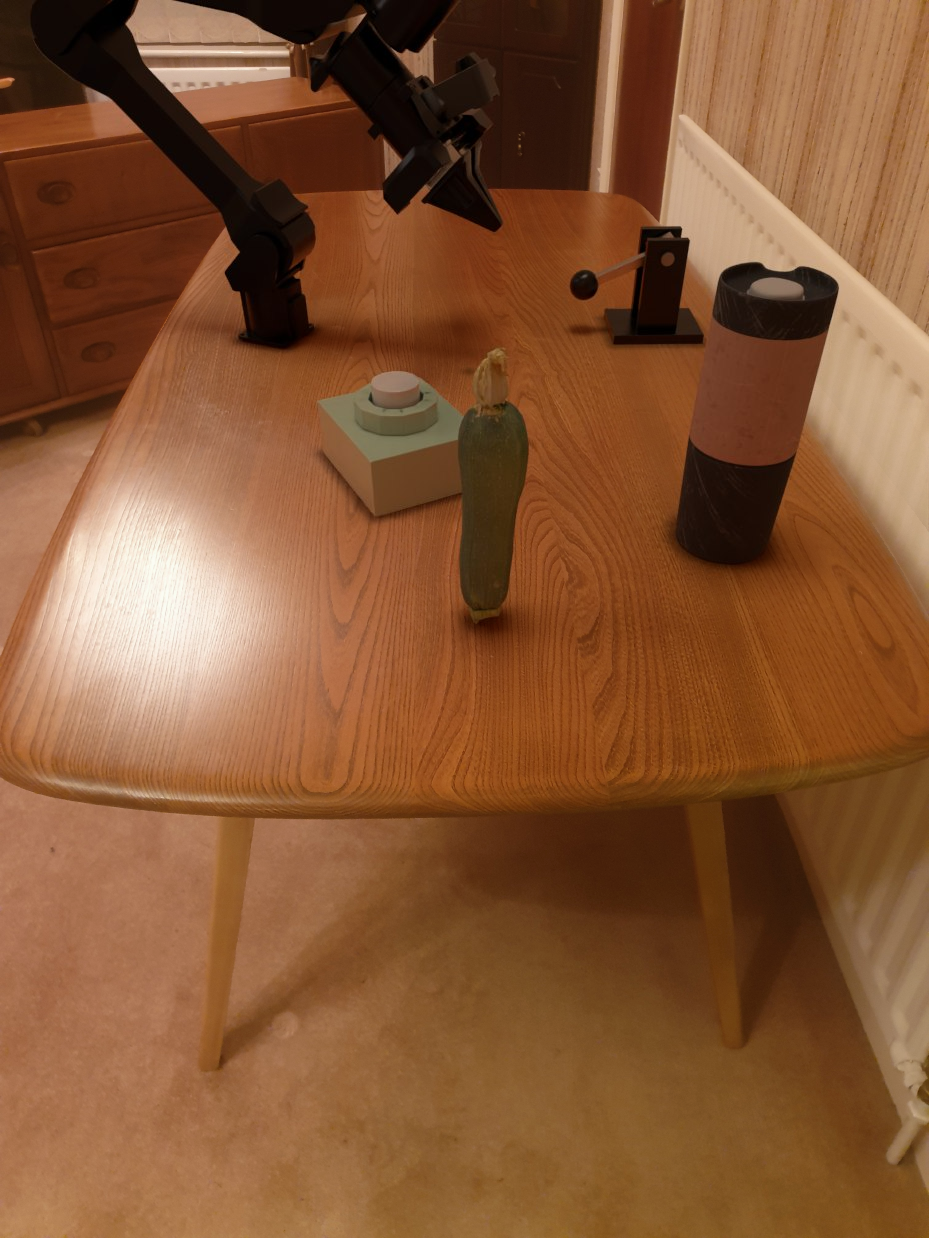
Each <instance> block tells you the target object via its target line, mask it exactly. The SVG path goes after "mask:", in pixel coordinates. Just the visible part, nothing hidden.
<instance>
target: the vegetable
mask: <svg viewBox="0 0 929 1238" xmlns="http://www.w3.org/2000/svg"><path fill="white" fill-rule="evenodd" d="M506 359H508V360H510V359H511V357H509V356H508V353H507V348H506V347H496V348H494V349H493V350H491V351H489V352H487V357H486V358H484V359H482V360H481V363H480V364H479V365H478V367H477V368H476V370H475V371H474V373H473V377H472V383H471V392H472V395H473V398H474V399H475V400H476V403H474V404H473V405H472V406H471V407H470V408H469V409H467V411H466V412H465V414H464V415H463V416H464V417H463V419H462V422H461V425H460V428H459V433H458V461H459V467H460V478H461V485H462V493H461V497H462V498H461V500H462V504H461V508H462V509H461V517H462V518H461V534H460V535H461V536H460V543H459V557H458V558H459V559H458V565H459V566H458V568H459V569H458V570H459V586H460V592H461V595H462V598H463V600H464V602H465V604H466V605H467V606H468V610H469V613H470V616H471V619H472V621H473V623H474V624H478V623H479V621H481V620H484V619H486V618H487V619H488V618H495V617H496V618H497V617H500V613H501V609H502V607H501V606H502V604H503V603H504V602H505V601H506V599H507V597H508V594H509V587H510V579H511V571H512V563H513V557H514V544H515V543H514V541H515V539H514V537H515V531H516V521H517V513H518V509H519V503H520V499H521V497H522V494H523V491H524V487H525V483H526V476H527V471H528V463H529V455H530V441H529V436H528V430H527V426H526V422H525V419H524V416H523V414H522V412H521V411H520V410H519V409H518V407H516V406H515V405H514V404H513V403H511V402H510V401H508V400H507V399H508V398H509V392H510V389H509V388H510V387H509V382H508V377H510V375H509V373H508V371H507V369H508V368H507V367H508V366H507V365H508V361H507V360H506Z"/></svg>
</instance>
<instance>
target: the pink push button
mask: <svg viewBox="0 0 929 1238" xmlns="http://www.w3.org/2000/svg"><path fill="white" fill-rule="evenodd" d="M370 383H371V391H372V402H373V404H374V406H377V407H381V408H384V409H403V408H407V407H412V406H415V405H416V404H418V403H419V402H420V382H419V377H418V376H417V375H416V374H414V373H412V372H408V371H403V370H392V371H384V372H382V373H378V374H377V375H375V376H373V378H372V379H371V381H370Z"/></svg>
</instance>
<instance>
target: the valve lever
mask: <svg viewBox="0 0 929 1238" xmlns="http://www.w3.org/2000/svg"><path fill="white" fill-rule="evenodd" d="M657 238H674V237H673V235H672V234H671V232H668V233H666V234H664V235H661V236H659V237H657ZM646 243H647V242H646ZM644 258H645V252H643V253H641V254H639V255H637V254H636V255H634V256H632V257H629V258H627V259H625V260H622V261H620V262H619V263H616V264H614V265H611V266H610V267H607V268H605V269H602V270H600V271H598V272H596V273H595V272H593V271H592V270H589V269H581V270H578V271H576V272H575V273H574V274H573V275H572V277H571V279H570V282H569V290H570V293H571V295H572V296H573V297H574V298H575V299H576V300H579V301H588V300H590V299H592V298H593V297H595V296H596V295H597V293H598V290H599V287H600V285H602V284H605V283H607V282H610V281H612V280H614V279H617V278H619V277H621V276H623V275H626V274H629V273H630V272H633V271H635V270H636V269H637V268H639V267H642V266H644Z"/></svg>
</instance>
